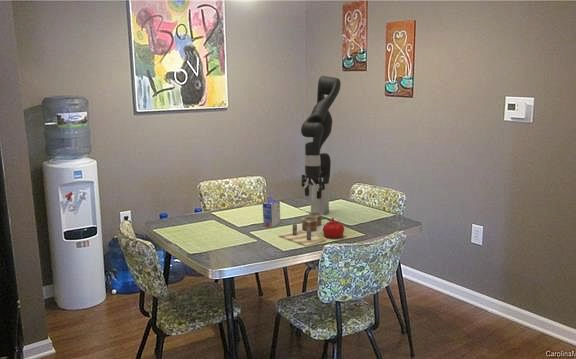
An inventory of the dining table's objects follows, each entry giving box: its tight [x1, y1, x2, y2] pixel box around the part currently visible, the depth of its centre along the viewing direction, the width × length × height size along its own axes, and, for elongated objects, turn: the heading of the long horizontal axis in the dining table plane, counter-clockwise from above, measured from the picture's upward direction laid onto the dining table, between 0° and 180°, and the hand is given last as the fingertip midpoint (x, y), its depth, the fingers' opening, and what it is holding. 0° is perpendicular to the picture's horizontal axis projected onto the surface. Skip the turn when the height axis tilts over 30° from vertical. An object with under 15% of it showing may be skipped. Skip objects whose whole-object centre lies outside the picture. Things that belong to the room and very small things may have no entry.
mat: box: [297, 224, 325, 235], centre depth 268 cm, size 16×14×1 cm
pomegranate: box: [322, 217, 345, 239], centre depth 253 cm, size 10×10×9 cm
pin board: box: [277, 223, 327, 248], centre depth 250 cm, size 20×12×6 cm, turn 40°
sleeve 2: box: [307, 211, 323, 227], centre depth 272 cm, size 5×5×6 cm
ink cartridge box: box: [262, 196, 281, 228], centre depth 274 cm, size 10×6×14 cm, turn 155°
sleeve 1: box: [301, 216, 317, 232], centre depth 263 cm, size 5×5×6 cm
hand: (313, 197), depth 261 cm, fingers open, 8 cm apart
